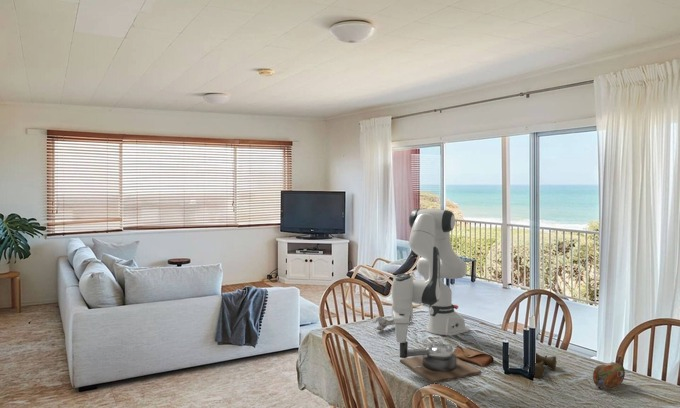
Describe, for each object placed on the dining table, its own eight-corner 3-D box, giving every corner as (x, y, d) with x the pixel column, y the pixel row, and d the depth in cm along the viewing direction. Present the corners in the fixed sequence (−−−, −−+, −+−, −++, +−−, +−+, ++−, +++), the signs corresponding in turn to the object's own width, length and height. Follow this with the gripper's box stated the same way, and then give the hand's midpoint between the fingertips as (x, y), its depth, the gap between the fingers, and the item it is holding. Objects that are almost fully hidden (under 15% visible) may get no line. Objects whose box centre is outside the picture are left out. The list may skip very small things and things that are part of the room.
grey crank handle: (445, 349, 206) (445, 334, 206) (457, 358, 195) (457, 342, 195) (395, 353, 200) (395, 338, 200) (404, 363, 190) (404, 347, 189)
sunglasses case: (447, 357, 211) (451, 342, 213) (453, 361, 216) (457, 346, 218) (485, 368, 199) (489, 352, 201) (491, 372, 204) (495, 357, 206)
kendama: (523, 376, 192) (534, 359, 208) (549, 382, 187) (558, 365, 203) (524, 362, 191) (535, 346, 208) (549, 368, 186) (558, 351, 202)
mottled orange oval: (598, 390, 178) (598, 368, 177) (590, 387, 181) (591, 365, 180) (625, 383, 184) (626, 362, 183) (617, 380, 187) (618, 359, 186)
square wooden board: (445, 353, 215) (445, 342, 215) (481, 373, 194) (481, 361, 193) (399, 361, 205) (399, 350, 205) (432, 383, 184) (432, 370, 183)
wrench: (411, 327, 263) (374, 332, 243) (409, 326, 265) (371, 331, 245) (413, 313, 264) (375, 317, 244) (410, 312, 265) (373, 316, 245)
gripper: (395, 306, 209) (395, 337, 209) (393, 320, 189) (393, 354, 189) (410, 307, 208) (410, 338, 208) (409, 320, 188) (409, 355, 188)
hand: (402, 345), depth 199 cm, fingers closed
